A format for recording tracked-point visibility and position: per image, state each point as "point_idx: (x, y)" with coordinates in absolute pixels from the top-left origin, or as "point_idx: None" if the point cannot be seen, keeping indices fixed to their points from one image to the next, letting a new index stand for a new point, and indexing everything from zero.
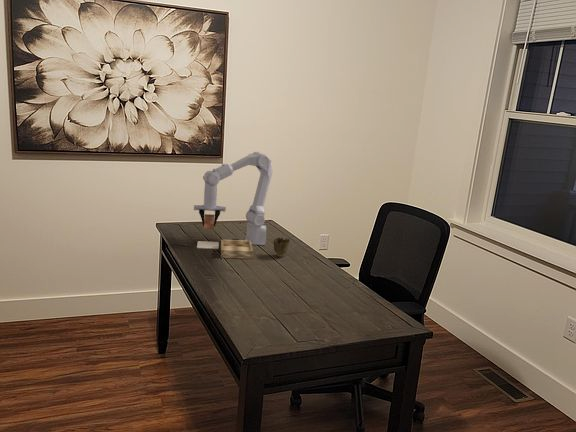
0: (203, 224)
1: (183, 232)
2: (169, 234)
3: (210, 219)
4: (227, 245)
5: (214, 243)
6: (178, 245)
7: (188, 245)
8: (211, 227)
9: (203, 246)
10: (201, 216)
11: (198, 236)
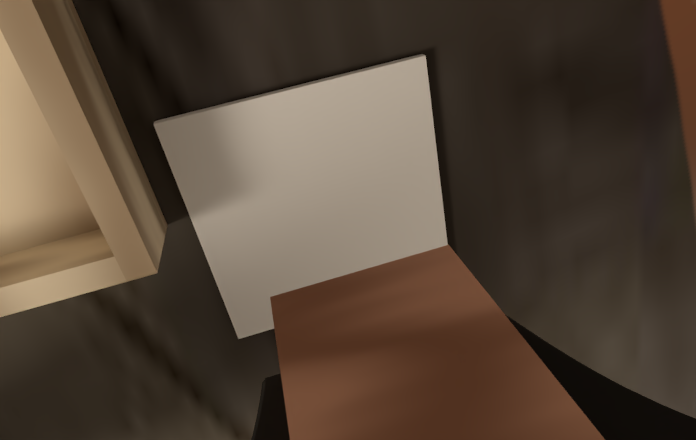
0: None
1: None
2: (687, 348)
3: (398, 438)
4: (69, 236)
5: (266, 276)
6: (622, 83)
7: (523, 124)
8: (319, 308)
9: (357, 124)
10: (686, 428)
11: None
